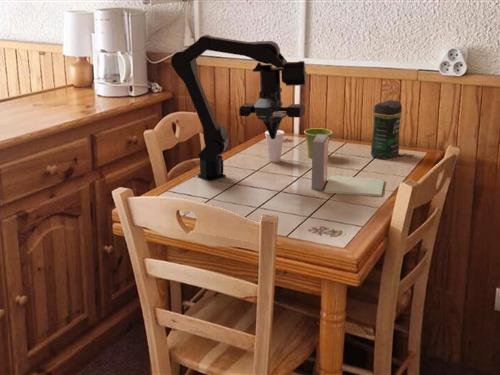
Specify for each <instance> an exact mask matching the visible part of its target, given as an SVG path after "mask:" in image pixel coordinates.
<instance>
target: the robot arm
mask: <svg viewBox="0 0 500 375" xmlns="http://www.w3.org/2000/svg"><path fill="white" fill-rule="evenodd" d="M280 49H281V48H280V46H279V45H278V43H276V41H273V40H263V41H244V40H239V39H238V40H237V39H231V38H223V37H218V36H217V37H216V36H212V35H209V34H205V35H202V36H200V37H199V38H198V39H197V40H196V41H195V42H194V43H192V44H191V45H190V46H188V47H187V48H184V49H180V50H179V51H177V52H175V53H174V54H173V55H171V59H170V64H171V66H172V68H173V70H174V71H175V74H176V75H177V76H178V77H179V78H180V80H181V81H182V82H183V83H184V85H185V88H186V89H187V92H188V95H189V97H190V99H191V103H192V104H193V107H194V109H195V110H194V111H195V112H196V115H197V117H198V119H199V122H200V124H201V127H202V132H203V134H202V136H203V142H204V147H203V148H202V149H201V151H200V152H199V153H198V158H199V173H197V175H196V176H197V177H199V178H201V179H204V180H207V181H214V180H217V179H222V178H225V177H226V176H227V175H226V174H224V160H223V156H222V153H223V152H224V150H226V149H227V147H228V145H229V138H230V135H229V133H228V132H227V129H226V128H227V127H226V126H225V124H222V125H220V124H219V122H217V120H216V118H215V116H214V113H213V110H212V108H211V105H210V103H209V100H208V98H207V96H206V94H205V90H204V87H203V86H202V83H201V80H200V78H199V70H198V63H197V62H198V61H197V59H198V58H199V57H200V56H202V55H203V54H204V53H205V52H206V51H209V52H210V51H211V52H218V53H224V54H231V55H237V56H244V57H247V58H250V59H252V60H253V61H256V62H257V64H256V66H255V67H253V69H252V72H255V73H257V72H259V76H260V77H259V78H260V79H259V82H260V91H259V93H258V94H259V95H258V96H259V97H258V99H257V100H256V102H254V103H253V102H246V103H243V104H242V105H241V106H239V107H238V116H239V117H249V116H251V114H255V116H256V117H257V119H258V120H260V121H262V122H263V124H264V126H265V127H266V129H267V130H266V131H268V132H269V135H270V137H271V139H275V137H276V134H277V131H278V130H279V127H280V125H281V122H282V120H283V119H285V117H288V118H301V117H302V116H304V115H305V114H306V107H305V105H304V104H303V103H302V104H301V103H291V104H289V105H288V106H283V102H282V92H283V88H282V87H281V82H282V83H283V84H285V86H288V87H291V86H293V87H295V86H297V87H298V86H306V85H307V70H306V65H305V61H304V60H300V61H287V60H286V58H285V57H284V56H283V55H282V53H281V50H280Z"/></svg>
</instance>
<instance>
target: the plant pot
mask: <svg viewBox="0 0 500 375" xmlns="http://www.w3.org/2000/svg"><path fill="white" fill-rule="evenodd" d="M303 133H304V135H305V139H306V147H307V148H306V149H307V154H308V155H307V156H308V158H309V159H312V150H313V141H314V139H315V137H316V136H317V134H323V135H328V136H327V137H329V141H330V140H331V138H332V134H333V131H332V130H330V129H327V128H322V127H321V128H320V127H317V128H307V129H305V130H304V131H303ZM329 144H330V142H329V143H328V146H329Z"/></svg>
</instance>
